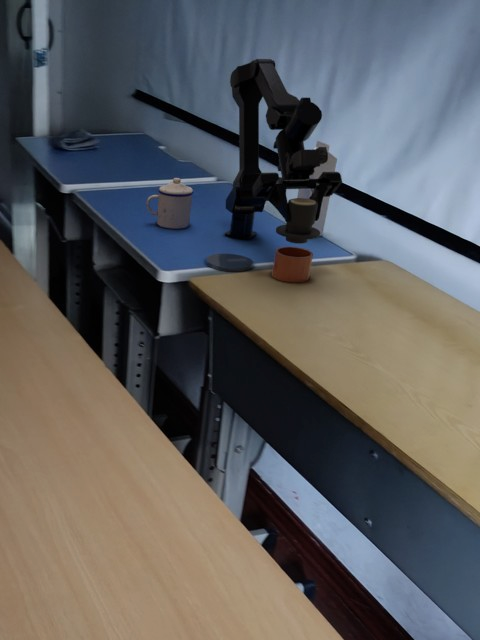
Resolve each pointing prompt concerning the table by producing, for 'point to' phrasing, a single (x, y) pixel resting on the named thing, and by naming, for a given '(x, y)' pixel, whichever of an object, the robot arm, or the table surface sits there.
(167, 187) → the teacup with lid
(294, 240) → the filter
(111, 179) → the table surface
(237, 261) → the saucer
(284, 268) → the cup
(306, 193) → the milk
